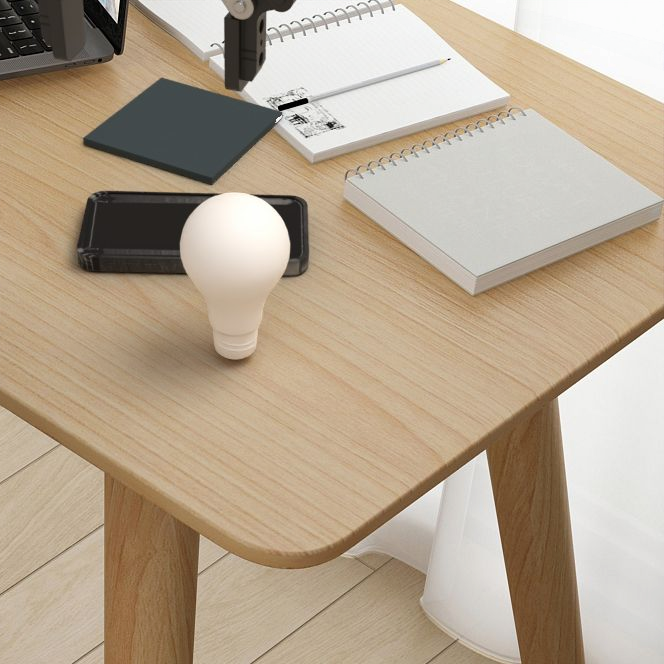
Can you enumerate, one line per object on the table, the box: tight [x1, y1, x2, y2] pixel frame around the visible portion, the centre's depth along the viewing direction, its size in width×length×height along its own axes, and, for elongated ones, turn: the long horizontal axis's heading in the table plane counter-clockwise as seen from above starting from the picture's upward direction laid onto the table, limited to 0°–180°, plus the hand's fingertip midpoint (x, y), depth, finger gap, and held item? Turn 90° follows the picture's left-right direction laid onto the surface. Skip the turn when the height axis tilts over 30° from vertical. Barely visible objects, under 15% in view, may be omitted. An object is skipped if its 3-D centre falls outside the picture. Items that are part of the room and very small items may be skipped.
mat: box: [82, 77, 283, 185], centre depth 91 cm, size 11×11×1 cm
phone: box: [76, 190, 310, 276], centre depth 80 cm, size 8×1×15 cm
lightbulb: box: [180, 191, 290, 360], centre depth 68 cm, size 6×6×11 cm
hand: (153, 68), depth 57 cm, fingers open, 8 cm apart
